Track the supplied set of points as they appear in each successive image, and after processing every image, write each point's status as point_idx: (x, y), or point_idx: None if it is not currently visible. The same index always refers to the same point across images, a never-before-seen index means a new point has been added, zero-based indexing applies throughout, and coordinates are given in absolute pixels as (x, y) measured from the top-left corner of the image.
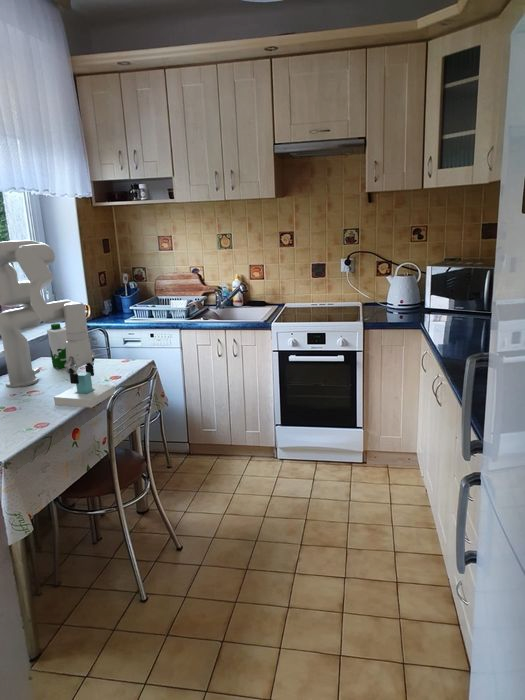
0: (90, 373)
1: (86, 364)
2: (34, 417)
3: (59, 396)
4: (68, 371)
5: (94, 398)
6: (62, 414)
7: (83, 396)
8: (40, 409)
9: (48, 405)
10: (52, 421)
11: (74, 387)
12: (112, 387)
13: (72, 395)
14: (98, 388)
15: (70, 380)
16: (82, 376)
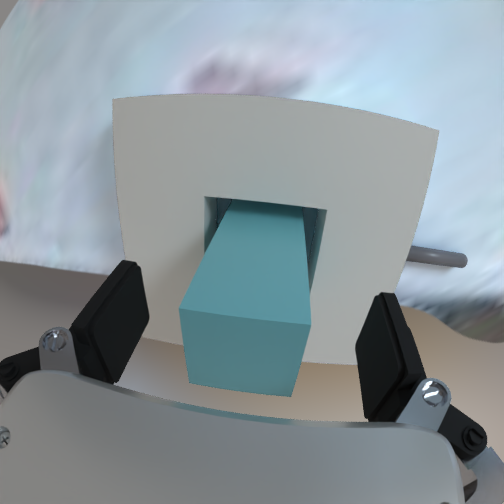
0: (289, 390)
1: (412, 394)
2: (13, 131)
3: (128, 131)
4: (24, 362)
5: (170, 340)
6: (60, 227)
7: (168, 288)
8: (72, 75)
9: (124, 68)
10: (17, 229)
11: (345, 127)
12: (339, 363)
13: (164, 213)
14: (322, 311)
15: (111, 274)
16: (189, 364)
